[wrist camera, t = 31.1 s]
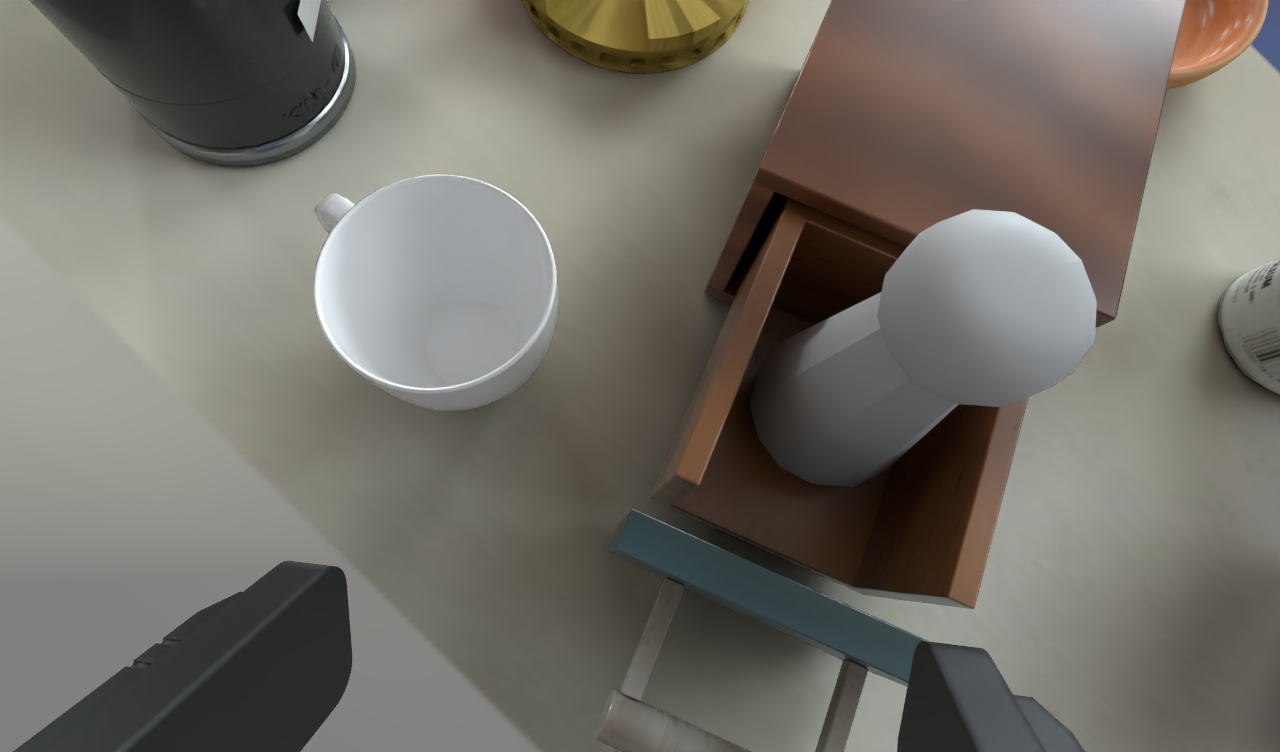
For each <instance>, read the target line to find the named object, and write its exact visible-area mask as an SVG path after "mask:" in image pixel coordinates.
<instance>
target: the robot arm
mask: <svg viewBox="0 0 1280 752" xmlns="http://www.w3.org/2000/svg"><path fill="white" fill-rule="evenodd" d="M29 1H30V2H31V3H32V4H33V5H34V6H35V7H36V8H37V9H38V10H39V11H40V12H41V13H42V14H43V15H44V16H45V17H46V18H47V19H48V20H49V21H50V22H51V23H52V24H53V25H54V26H55V27H56V28H57V29H58V30H59V31H60V32H61V33H62V34H63V35H64V36H65V37H66V38H67V39H68V40H69V41H70V42H71V43H72V44H73V45H74V46H75V47H76V48H77V49H78V50H79V51H80V52H81V53H82V54H83V55H84V56H85V57H86V58H87V59H88V60H89V61H90V62H91V63H92V64H93V65H94V66H95V67H96V68H97V69H98V70H99V72H100V73H101V74H102V75H103V76H104V77H105V78H106V79H107V80H108V81H109V82H110V83H111V84H112V85H113V86H114V87H115V88H116V89H117V90H118V91H119V92H120V93H121V94H122V95H123V96H124V97H125V98H126V99H127V100H128V101H129V102H130V103H131V104H132V105H133V106H134V107H135V108H136V109H137V111H138V113H139V114H140V115H141V116H142V118H143V119H144V120H145V121H146V122H147V123H148V124H149V125H150V126H151V127H152V128H153V129H154V130H155V131H156V132H157V133H158V134H159V135H160V136H161V137H162V138H163V139H164V140H165V141H166V142H168V143H169V144H170V145H172V146H173V147H174V148H176V149H178V150H179V151H181V152H183V153H185V154H187V155H189V156H191V157H194V158H196V159H199V160H202V161H206V162H209V163H214V164H220V165H229V166H246V165H257V164H264V163H268V162H272V161H276V160H279V159H283V158H285V157H288V156H290V155H293V154H295V153H297V152H299V151H301V150H303V149H305V148H307V147H308V146H310V145H312V144H313V143H315V142H316V141H317V140H319V139H320V138H321V137H323V136H324V135H325V134H326V133H327V132H328V131H329V130H330V129H331V128H332V127H333V126H334V125H335V124H336V123H337V121H338V120H339V119H340V117H341V116H342V114H343V113H344V111H345V110H346V108H347V106H348V104H349V101H350V99H351V96H352V93H353V89H354V85H355V76H356V74H355V62H354V57H353V53H352V50H351V48H350V45H349V43H348V41H347V39H346V37H345V35H344V32H343V30H342V28H341V26H340V24H339V23H338V21H337V19H336V18H335V17H334V15H333V14H332V12H331V10H330V8H329V6H328V4H327V1H326V0H29ZM348 609H349V608H348V596H347V584H346V578H345V575H344V573H343V571H342V570H341V569H340V568H339V567H334V566H327V565H318V564H311V563H302V562H294V561H285V562H283V563H280V564H279V565H277V566H276V567H275V568H273V569H272V570H271V571H269V572H268V573H267V574H266V575H264V576H263V577H262V578H261V579H259V580H258V581H257V582H255V583H254V584H253V585H252V586H250V587H249V588H248V589H246V590H245V591H244V592H239V593H237V594H234V595H232V596H231V597H228V598H226V599H224V600H222V601H220V602H218V603H216V604H214V605H211V606H209V607H207V608H205V609H203V610H201V611H199V612H197V613H196V614H195V615H193V616H192V617H191V618H189V619H188V620H187V621H185V622H184V623H183V624H181V625H180V626H179V627H177V628H176V629H175V630H174V631H172V632H171V633H170V634H168V635H167V636H165V637H164V638H163V642H162V643H161V644H157V643H156V644H155V645H154V646H152V647H151V648H150V649H148V650H147V651H146V652H144V653H143V654H142V655H140V656H139V657H138V658H136V659H135V660H134V663H133V665H132V666H131V667H124V668H123V669H122V670H121V671H119V672H118V673H117V674H115V675H114V676H113V677H111V678H110V679H109V680H107V681H106V682H105V683H103V684H102V685H101V686H99V687H98V688H97V689H96V690H94V691H93V692H91V693H90V694H89V695H88V696H86V697H85V698H84V699H82V700H81V701H80V702H78V703H77V704H76V705H74V706H73V707H72V708H70V709H69V710H68V711H67V712H65V713H64V714H62V715H61V716H60V717H58V718H57V719H56V720H54V721H53V722H52V723H50V724H49V725H48V726H47V727H45V728H44V729H43V730H41V731H40V732H39V733H37V734H36V735H35V736H33V737H32V738H31V739H29V740H28V741H27V742H25V743H24V744H23V745H22V746H20V747H19V748H17V749H16V750H15V751H13V752H300V751H301V750H302V749H303V747H304V746H305V744H307V742H308V741H309V740H310V739H311V737H312V736H313V735H314V734H315V732H316V731H317V730H318V728H319V727H320V726H321V725H322V723H323V722H324V721H325V720H326V718H327V717H328V716H329V715H330V713H331V712H332V711H333V710H334V708H335V707H336V705H337V704H338V703H339V701H340V699H341V697H342V695H343V693H344V691H345V689H346V686H347V684H348V680H349V677H350V673H351V667H352V648H351V634H350V621H349V610H348ZM897 752H1084V750H1083V749H1082V747H1081V746H1080V744H1079V742H1078V741H1077V739H1076V738H1075V736H1074V735H1073V733H1072V732H1071V731H1069V730H1068V729H1067V728H1066V727H1065V726H1064V725H1063V724H1062V723H1060V722H1059V721H1058V720H1057V719H1056V718H1055V717H1054V716H1053V715H1051V714H1050V713H1049V712H1048V711H1047V710H1046V709H1045V708H1044V707H1043V706H1041V705H1040V704H1039V703H1038V702H1037V701H1036V700H1035V699H1034V698H1032V697H1025V696H1017V695H1013V694H1012V692H1011V691H1010V689H1009V687H1008V686H1007V684H1006V682H1005V680H1004V679H1003V677H1002V675H1001V674H1000V672H999V670H998V669H997V667H996V665H995V663H994V662H993V660H992V658H991V657H990V655H989V654H988V653H987V652H986V651H985V650H984V649H982V648H975V647H967V646H959V645H951V644H943V643H935V642H927V641H921V642H919V643H918V645H917V647H916V649H915V652H914V656H913V661H912V666H911V672H910V677H909V682H908V688H907V693H906V699H905V704H904V709H903V715H902V720H901V725H900V731H899V737H898V749H897Z"/></svg>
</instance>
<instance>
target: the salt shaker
mask: <svg viewBox="0 0 1280 752" xmlns="http://www.w3.org/2000/svg"><path fill="white" fill-rule="evenodd" d="M1096 307H1097V301H1096V298H1095V294H1094V291H1093V289H1092V286H1091V284H1090V281H1089V278H1088V276H1087V273H1086V271H1085V268H1084V265H1083V263H1082V260H1081V259H1080V258H1079V257H1078V256H1077V255H1076V254H1075V253H1074V252H1073V251H1072V250H1071V249H1070V248H1069V247H1068V246H1067V245H1066V243H1065V242H1064V241H1063V240H1062V239H1061V238H1060V237H1059V236H1058V235H1057V234H1056V233H1054V232H1052V231H1050V230H1049V229H1047V228H1045V227H1043V226H1041V225H1039V224H1037V223H1035V222H1033V221H1031V220H1029V219H1027V218H1025V217H1023V216H1021V215H1019V214H1017V213H1014V212H1006V211H991V210H976V209H973V210H970V211H967V212H965V213H962V214H959V215H957V216H954V217H951V218H948V219H946V220H943V221H940V222H938V223H936V224H934V225H933V226H931V227H929V228H928V229H926V230H924V231H922V232H921V233H919V234H918V236H917V237H916V238H915V239H914V240H913V241H912V242H911V244H910V245H909V246H908V247H907V248H906V249H905V251H904V252H903V253H902V254H901V256H900V257H899V258H898V259H897V261H896V262H895V263H894V264H893V266H892V267H891V268H890V269H889V271H888V272H887V273H886V274H885V278H884V282H883V287H882V292H880V293H878V294H876V295H874V296H872V297H870V298H868V299H866V300H864V301H862V302H860V303H858V304H856V305H854V306H852V307H850V308H848V309H846V310H844V311H842V312H840V313H838V314H836V315H834V316H832V317H830V318H828V319H826V320H824V321H822V322H820V323H818V324H815V325H813V326H811V327H809V328H807V329H805V330H803V331H801V332H799V333H797V334H795V335H793V336H791V337H789V338H787V339H785V340H783V341H781V342H780V343H779V344H778V345H777V346H776V347H775V349H774V350H773V351H772V352H771V353H770V355H769V356H768V357H767V358H766V359H765V361H764V362H763V363H762V364H761V365H760V366H759V368H758V371H757V375H756V379H755V383H754V387H753V392H752V396H751V400H750V404H749V405H750V409H751V412H752V416H753V420H754V424H755V428H756V432H757V436H758V439H759V440H760V441H761V443H762V444H763V445H764V447H765V448H766V449H767V451H768V452H769V453H770V455H771V456H772V457H773V459H774V460H775V461H776V463H777V464H778V465H779V467H781V468H783V469H785V470H786V471H788V472H790V473H792V474H794V475H796V476H798V477H800V478H802V479H804V480H806V481H808V482H810V483H813V484H821V485H834V486H848V487H854V486H856V485H858V484H860V483H862V482H864V481H866V480H868V479H870V478H872V477H874V476H876V475H879V474H881V473H883V472H885V471H886V470H887V469H888V468H889V467H890V466H891V465H892V464H894V463H895V462H896V461H897V460H898V459H899V458H900V457H901V456H902V455H903V454H905V453H906V452H907V451H908V450H909V449H910V448H911V447H912V446H913V445H914V444H916V443H917V442H918V441H919V440H920V439H921V438H922V437H923V436H924V435H925V434H927V433H928V432H929V431H930V430H931V429H932V428H933V427H934V426H935V425H937V424H938V423H939V422H940V421H941V420H942V419H943V418H944V417H945V416H946V415H948V414H949V413H950V412H951V411H952V410H953V409H954V408H955V407H956V406H957V405H959V404H965V405H979V406H993V407H1001V406H1005V405H1009V404H1013V403H1017V402H1020V401H1022V400H1024V399H1026V398H1028V397H1030V396H1032V395H1035V394H1037V393H1039V392H1041V391H1043V390H1045V389H1047V388H1049V387H1051V386H1054V385H1055V384H1057V383H1058V382H1060V381H1061V380H1063V379H1064V378H1066V377H1067V376H1069V375H1070V374H1071V373H1073V372H1074V370H1075V369H1076V368H1077V366H1078V365H1079V363H1080V362H1081V360H1082V359H1083V357H1084V356H1085V355H1086V353H1087V352H1088V350H1089V349H1090V347H1091V346H1092V345H1093V343H1094V342H1095V326H1096Z"/></svg>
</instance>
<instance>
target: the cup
mask: <svg viewBox="0 0 1280 752" xmlns="http://www.w3.org/2000/svg"><path fill="white" fill-rule="evenodd" d="M315 214H316V216H317V218H318V220H319V222H320V223H321V225H322V226H323V227H324V229H325V230H326V231H327V232H328V233H329V235H328V237H327V238H326V240H325V242H324V244H323V246H322V248H321V251H320V253H319V256H318V259H317V262H316V266H315V271H314V277H313V302H314V308H315V313H316V316H317V320H318V323H319V325H320V328H321V330H322V332H323V334H324V336H325V338H326V339H327V341H328V343H329V344H330V346H331V347H332V348H333V350H334V351H335V352H336V353H337V355H338V356H339V357H340V358H341V359H342V360H343V361H344V362H345V363H346V364H347V365H348V366H350V367H351V368H352V369H353V370H354V371H356V372H357V373H358V374H359V375H360V376H362V377H363V378H364V379H366V380H367V381H368V382H370V383H371V384H373V385H374V386H376V387H378V388H379V389H381V390H383V391H385V392H386V393H388V394H390V395H392V396H394V397H396V398H398V399H401V400H403V401H405V402H408V403H410V404H413V405H416V406H419V407H423V408H427V409H433V410H441V411H460V410H468V409H474V408H478V407H482V406H485V405H488V404H491V403H493V402H496V401H498V400H500V399H502V398H504V397H505V396H507V395H509V394H510V393H512V392H513V391H515V390H516V389H517V388H518V387H520V386H521V385H522V384H523V383H524V382H525V381H526V380H527V379H528V378H529V377H530V376H531V375H532V374H533V373H534V371H535V370H536V369H537V368H538V366H539V365H540V363H541V362H542V360H543V358H544V356H545V354H546V352H547V350H548V348H549V346H550V343H551V341H552V338H553V334H554V331H555V326H556V321H557V314H558V282H557V274H556V266H555V260H554V255H553V252H552V248H551V246H550V243H549V241H548V238H547V236H546V234H545V232H544V230H543V229H542V227H541V225H540V224H539V223H538V221H537V220H536V218H535V217H534V216H533V215H532V214H531V212H530V211H529V210H528V209H527V208H526V207H525V206H524V205H522V204H521V203H520V202H519V201H518V200H516V199H515V198H514V197H512V196H511V195H509V194H508V193H506V192H505V191H503V190H501V189H499V188H497V187H495V186H493V185H491V184H488V183H486V182H483V181H480V180H476V179H473V178H468V177H463V176H456V175H425V176H418V177H412V178H408V179H404V180H401V181H398V182H395V183H392V184H389V185H387V186H385V187H383V188H380V189H378V190H376V191H375V192H373V193H371V194H370V195H368V196H366V197H365V198H363V199H362V200H361V201H359V202H358V203H357V204H354V203H352V202H351V201H349V200H348V199H346V198H345V197H343V196H341V195H339V194H336V193H332V194H329V195H327V196H326V197H324V198H323V199H322V200H321V201H320V202H319V203H318V204H317V205H316V207H315Z"/></svg>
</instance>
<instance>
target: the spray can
mask: <svg viewBox="0 0 1280 752" xmlns="http://www.w3.org/2000/svg"><path fill="white" fill-rule="evenodd" d="M1218 322H1219V324H1220V328H1221V331H1222V334H1223V337H1224V342H1225V346H1226V348H1227V350H1228V352H1229V353H1230V355H1231V356H1232V358H1233V359H1234V360H1235V362H1236V363H1237V365H1238V367H1239V369H1240V370H1241V371H1242V372H1243V373H1244V374H1245V375H1246V376H1248V377H1249V378H1251V379H1252V380H1254V381H1256V382H1257V383H1259V384H1260V385H1262V386H1264V387H1265V388H1267V389H1268V390H1270V391H1272V392H1275V393H1277V394H1280V258H1278V259H1276V260H1273V261H1271V262H1269V263H1266V264H1264V265H1262V266H1260V267H1258V268H1255V269H1253V270H1251V271H1249V272H1248V273H1246V274H1245V275H1243V276H1241V277H1240V278H1237V279H1236V280H1235V281H1234V282H1233V283H1232V284H1231V285H1230V286H1229V287H1228V289H1227V290H1226V291H1225V292H1224V294H1223V296H1222V298H1221V301H1220V305H1219V315H1218Z"/></svg>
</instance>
